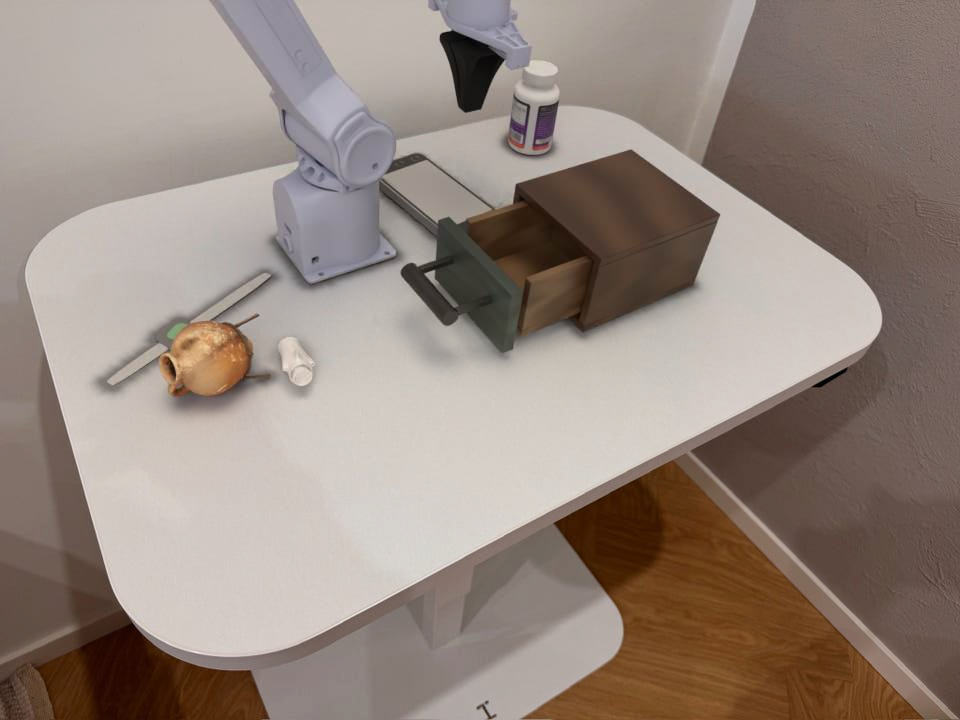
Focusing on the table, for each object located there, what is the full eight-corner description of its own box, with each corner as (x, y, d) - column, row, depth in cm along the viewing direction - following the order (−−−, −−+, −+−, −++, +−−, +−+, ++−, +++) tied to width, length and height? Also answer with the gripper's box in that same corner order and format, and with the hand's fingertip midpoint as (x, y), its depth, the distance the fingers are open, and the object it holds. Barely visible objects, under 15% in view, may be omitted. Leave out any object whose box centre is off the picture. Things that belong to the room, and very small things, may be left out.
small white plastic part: (324, 346, 65) (322, 319, 62) (312, 397, 60) (309, 371, 58) (282, 342, 64) (279, 316, 62) (267, 394, 60) (263, 367, 58)
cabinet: (582, 332, 69) (601, 259, 63) (504, 256, 76) (515, 183, 69) (693, 284, 75) (721, 214, 69) (612, 218, 82) (631, 148, 76)
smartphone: (419, 150, 86) (505, 215, 78) (419, 158, 87) (504, 223, 79) (366, 169, 82) (450, 238, 75) (366, 177, 83) (450, 247, 76)
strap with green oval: (255, 263, 70) (279, 277, 69) (256, 267, 71) (279, 280, 70) (95, 371, 60) (120, 388, 59) (96, 374, 60) (121, 392, 59)
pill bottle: (551, 136, 93) (565, 60, 86) (550, 159, 89) (564, 81, 82) (508, 130, 93) (518, 54, 86) (505, 153, 89) (515, 74, 82)
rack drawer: (453, 374, 62) (459, 315, 58) (387, 294, 69) (388, 235, 64) (618, 305, 71) (635, 248, 66) (546, 239, 77) (557, 182, 72)
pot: (246, 377, 64) (285, 379, 60) (156, 405, 59) (192, 409, 54) (229, 311, 63) (268, 307, 59) (136, 333, 58) (171, 331, 53)
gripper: (568, -13, 63) (544, 133, 73) (476, -69, 71) (465, 70, 81) (499, -2, 60) (483, 149, 70) (411, -61, 68) (408, 82, 78)
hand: (469, 108), depth 75 cm, fingers closed
